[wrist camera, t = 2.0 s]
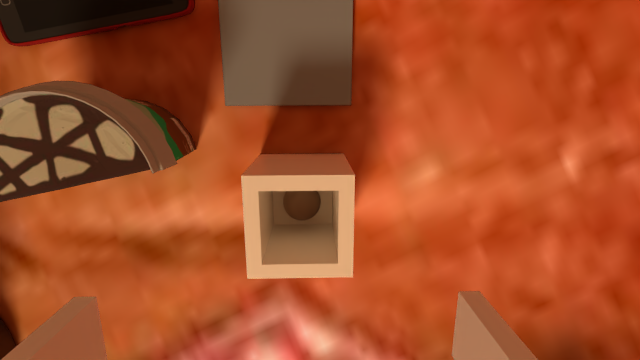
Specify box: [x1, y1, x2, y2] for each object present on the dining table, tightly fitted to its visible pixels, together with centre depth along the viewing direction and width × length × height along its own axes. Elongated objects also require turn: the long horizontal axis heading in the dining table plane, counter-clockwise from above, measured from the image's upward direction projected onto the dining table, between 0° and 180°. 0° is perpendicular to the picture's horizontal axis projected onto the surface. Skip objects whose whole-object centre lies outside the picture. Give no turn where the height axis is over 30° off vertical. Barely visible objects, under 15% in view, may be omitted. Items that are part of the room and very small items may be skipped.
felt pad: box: [218, 0, 353, 106], centre depth 26 cm, size 10×15×1 cm, turn 0°
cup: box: [241, 153, 355, 279], centre depth 26 cm, size 7×7×8 cm
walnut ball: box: [283, 191, 321, 221], centre depth 28 cm, size 3×3×3 cm
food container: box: [0, 81, 196, 202], centre depth 23 cm, size 12×6×10 cm, turn 102°
